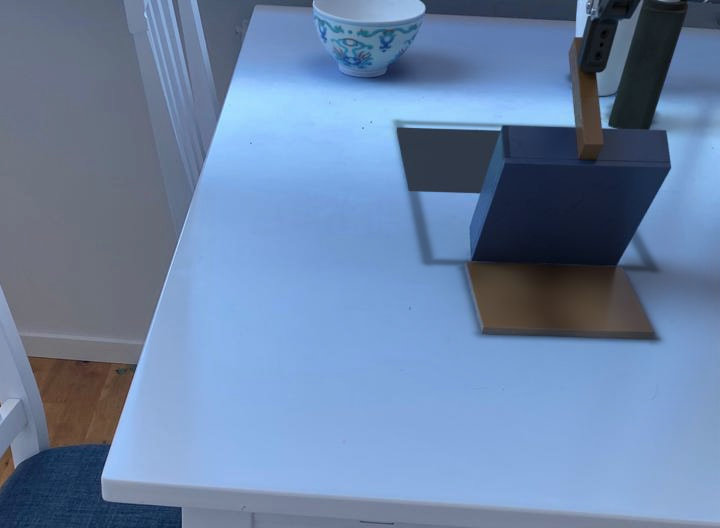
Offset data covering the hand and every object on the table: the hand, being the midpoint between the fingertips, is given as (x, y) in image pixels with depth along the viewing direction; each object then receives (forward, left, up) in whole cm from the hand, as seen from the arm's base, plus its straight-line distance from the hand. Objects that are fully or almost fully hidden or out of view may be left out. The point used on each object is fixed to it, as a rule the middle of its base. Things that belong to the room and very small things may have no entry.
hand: (589, 69), depth 80 cm
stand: (0, +8, -18) cm, 19 cm away
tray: (0, +5, -10) cm, 11 cm away
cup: (-17, -52, -18) cm, 57 cm away
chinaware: (+14, -57, -18) cm, 61 cm away
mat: (0, -17, -18) cm, 24 cm away
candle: (-19, -40, -18) cm, 48 cm away
